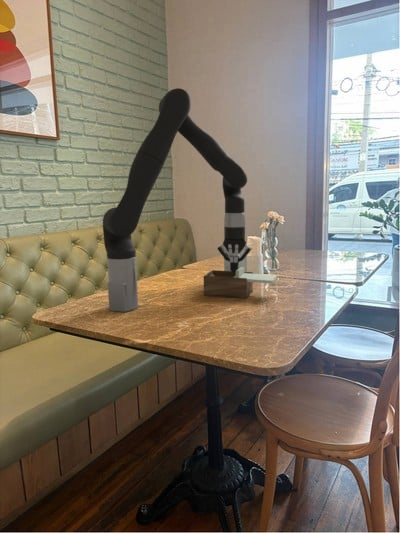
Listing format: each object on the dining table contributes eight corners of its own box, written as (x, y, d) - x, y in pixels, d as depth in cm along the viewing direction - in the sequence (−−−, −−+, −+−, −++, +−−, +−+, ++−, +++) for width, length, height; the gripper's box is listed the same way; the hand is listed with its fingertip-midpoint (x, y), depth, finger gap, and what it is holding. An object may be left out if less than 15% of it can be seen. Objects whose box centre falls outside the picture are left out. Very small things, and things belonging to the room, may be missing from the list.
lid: (272, 283, 136) (272, 273, 136) (232, 280, 141) (232, 271, 141) (277, 277, 145) (277, 268, 145) (238, 275, 150) (238, 266, 150)
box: (246, 298, 140) (246, 278, 139) (203, 295, 145) (203, 276, 144) (252, 291, 150) (252, 272, 149) (212, 288, 155) (212, 270, 154)
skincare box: (237, 279, 171) (237, 245, 168) (247, 281, 166) (247, 246, 163) (223, 282, 166) (223, 247, 163) (233, 284, 161) (233, 248, 158)
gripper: (214, 226, 141) (214, 273, 144) (250, 226, 137) (250, 275, 140) (219, 224, 148) (220, 269, 151) (254, 224, 144) (254, 271, 147)
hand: (234, 272), depth 146 cm, fingers closed
